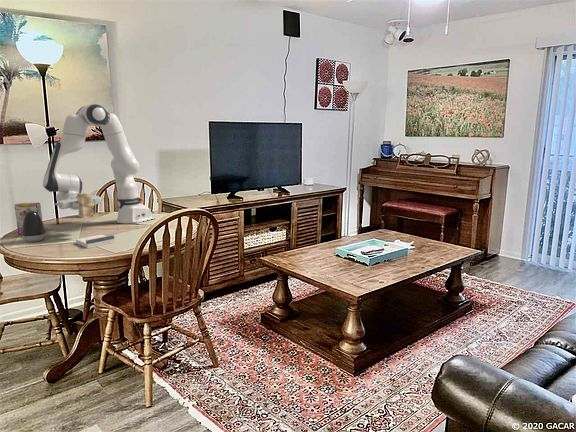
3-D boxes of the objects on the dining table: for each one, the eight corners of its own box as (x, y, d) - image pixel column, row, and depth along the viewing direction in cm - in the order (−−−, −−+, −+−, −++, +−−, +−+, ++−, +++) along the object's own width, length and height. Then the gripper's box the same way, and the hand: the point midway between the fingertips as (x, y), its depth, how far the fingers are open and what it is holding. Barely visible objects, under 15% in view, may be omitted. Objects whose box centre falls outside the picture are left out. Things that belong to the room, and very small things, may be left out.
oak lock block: (89, 215, 225) (86, 192, 222) (93, 216, 222) (91, 193, 219) (79, 216, 221) (77, 193, 219) (83, 218, 218) (81, 194, 215)
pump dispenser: (37, 237, 223) (33, 208, 220) (51, 239, 219) (47, 209, 216) (18, 241, 214) (14, 211, 211) (32, 244, 210) (27, 213, 207)
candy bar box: (17, 234, 228) (13, 204, 225) (22, 232, 233) (17, 202, 230) (40, 234, 230) (36, 203, 227) (44, 231, 235) (40, 202, 231)
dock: (102, 238, 220) (101, 231, 220) (114, 242, 212) (113, 235, 211) (76, 243, 211) (75, 236, 210) (87, 248, 202) (87, 241, 202)
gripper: (53, 197, 220) (63, 201, 211) (92, 192, 235) (104, 195, 226) (54, 210, 222) (65, 213, 213) (94, 204, 236) (105, 207, 227)
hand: (86, 204), depth 219 cm, fingers closed on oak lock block, 5 cm apart
